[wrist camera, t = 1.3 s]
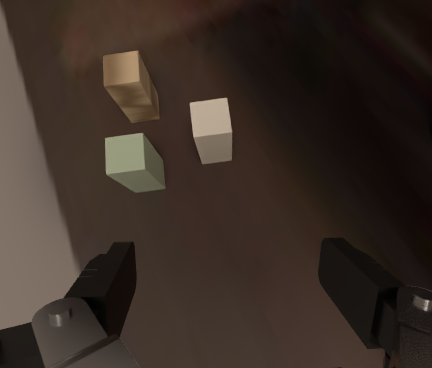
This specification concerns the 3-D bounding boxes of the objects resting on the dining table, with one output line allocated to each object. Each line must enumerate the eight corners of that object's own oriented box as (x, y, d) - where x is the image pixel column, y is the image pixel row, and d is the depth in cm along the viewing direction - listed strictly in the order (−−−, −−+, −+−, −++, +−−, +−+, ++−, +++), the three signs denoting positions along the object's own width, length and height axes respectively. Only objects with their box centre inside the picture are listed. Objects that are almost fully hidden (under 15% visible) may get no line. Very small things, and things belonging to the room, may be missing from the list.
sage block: (163, 160, 42) (142, 132, 33) (165, 188, 41) (144, 169, 31) (134, 164, 42) (105, 138, 33) (135, 192, 41) (106, 174, 32)
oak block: (157, 94, 45) (137, 50, 35) (159, 119, 44) (139, 81, 34) (130, 98, 45) (103, 55, 35) (132, 123, 44) (103, 86, 34)
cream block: (227, 133, 43) (226, 97, 33) (231, 160, 42) (232, 132, 32) (199, 137, 43) (189, 102, 33) (202, 164, 42) (193, 137, 32)
